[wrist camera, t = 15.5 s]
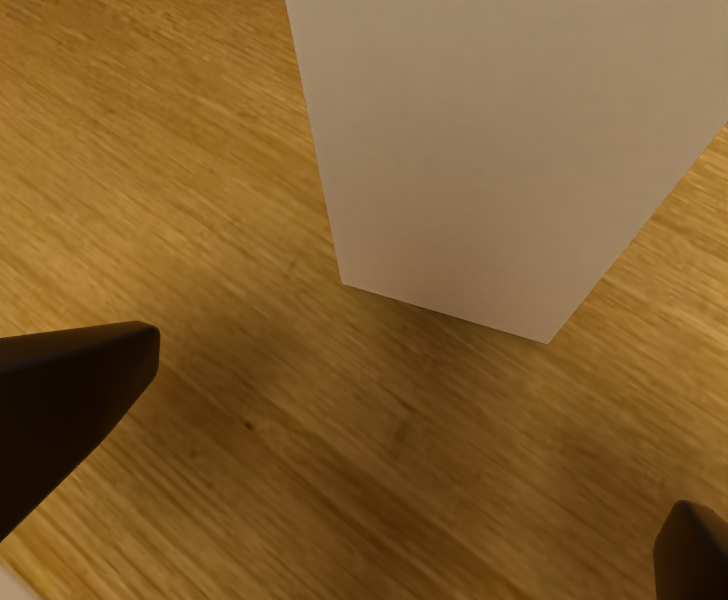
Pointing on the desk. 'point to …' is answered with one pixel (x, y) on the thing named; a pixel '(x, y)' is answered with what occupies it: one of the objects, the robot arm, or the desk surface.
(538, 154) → the beige rectangular block
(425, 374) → the desk surface
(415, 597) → the desk surface
